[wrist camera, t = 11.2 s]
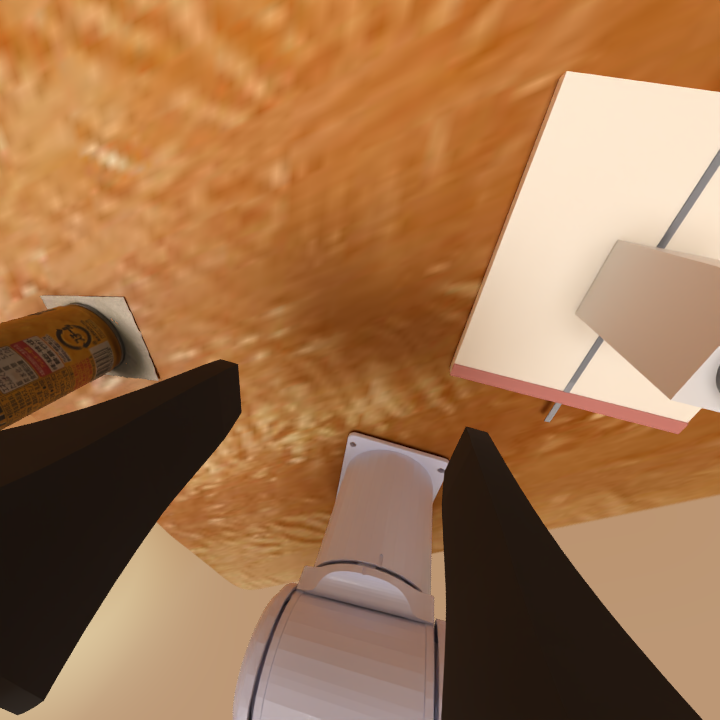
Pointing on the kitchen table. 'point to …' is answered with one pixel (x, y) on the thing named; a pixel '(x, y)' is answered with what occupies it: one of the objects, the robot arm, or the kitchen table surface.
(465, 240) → the kitchen table surface
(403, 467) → the robot arm
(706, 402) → the white bottle
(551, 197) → the notepad
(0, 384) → the condiment
